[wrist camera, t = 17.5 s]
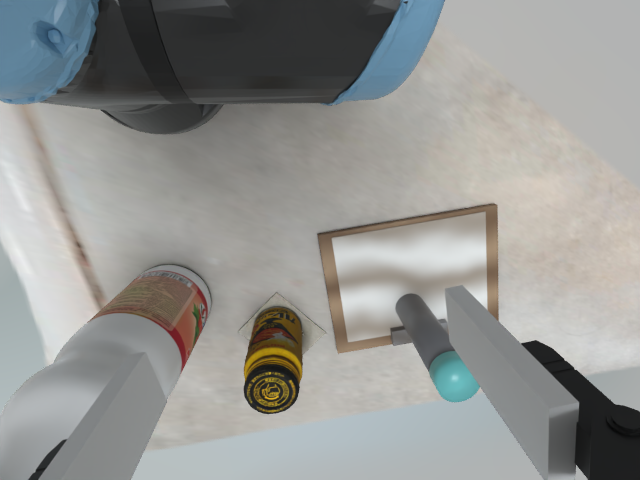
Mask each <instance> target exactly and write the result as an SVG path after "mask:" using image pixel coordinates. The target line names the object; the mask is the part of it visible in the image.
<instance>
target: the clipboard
mask: <svg viewBox="0 0 640 480" xmlns="http://www.w3.org/2000/svg"><path fill="white" fill-rule="evenodd" d="M318 239H319V245H320V251H321V257H322V263H323V269H324V275H325V280H326V286H327V292H328V298H329V304H330V310H331V316H332V321H333V327H334V333H335V339H336V345H337V351H338V353H344V352H350V351H355V350H361V349H367V348H372V347H378V346H384V345H390V344H393V346H395V345H401V344H407V343H412V340H411V338H410V337H409V335H408V333H407V331H406V329H405V327H404V326H403V324H402V322H401V320H400V318H399V316H398V315H397V313H396V309H395V307H396V303H397V301H398V300H399V298H401V297H402V296H403V295H406V294H410V293H412V294H417V295H419V296H420V297H421V298H422V299H423V301H424V302H425V303H426V305H427V306H428V307H429V309H430V310H431V311H432V313H433V314H434V315H435V317H436V318H437V319H438V321H439V322H440V323H441V325H442V326H443V327H444V329H445V330H446V331H447V333H448V334H449V330H448V320H447V309H446V299H445V288H450V287H455V286H460V285H463V286H464V287H465V288H466V289H467V290H468V291H469V292H470V293H471V294H472V295H473V296H474V297H475V298H476V299H477V300H478V301H479V302H480V303H481V304H482V305H483V306H484V307H485V308H486V309H487V310H488V311H489V312H490V313H491V314H492V315H493V316H494V317H495V318H496V319H497V320H498V217H497V205H496V204H489V205H483V206H477V207H471V208H465V209H460V210H454V211H448V212H442V213H436V214H430V215H425V216H419V217H413V218H407V219H401V220H396V221H390V222H384V223H378V224H372V225H366V226H361V227H355V228H349V229H343V230H337V231H331V232H326V233H320V234H318Z"/></svg>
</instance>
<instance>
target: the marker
mask: <svg viewBox="0 0 640 480" xmlns="http://www.w3.org/2000/svg"><path fill="white" fill-rule="evenodd" d="M395 309H396V313H397V315H398V316H399V318H400V320H401V322H402V324H403V326H404V327H405V329H406V331H407V333H408V335H409V337H410V338H411V340H412V342H413V344H414V346H415V348H416V349H417V351H418V353H419V355H420V357H421V359H422V360H423V362H424V364H425V366H426V368H427V369H428V371H429V374H430V377H431V379H432V381H433V383H434V385H435V386H436V388H437V390H438V392H439V394H440V395H441V397H443V398H444V399H445V400H447V401H450V402H461V401H465V400H467V399H469V398H471V397H472V396H473V395H474V394H475V393H476V392H477V391H478V389H479V387H480V386H479V384H478V383H477V381H476V380H475V379H474V377H473V376H472V374H471V373H470V371H469V370H468V368H467V367H466V365H465V364H464V362H463V361H462V360H461V358H460V357H459V355H458V354H457V352H456V351H455V349H454V348H453V346H452V345H451V343H450V341H449V334H448V333H447V331H446V330H445V329H444V327H443V326H442V325H441V323H440V322H439V321H438V319H437V318H436V317H435V315H434V314H433V313H432V311H431V310H430V309H429V307H428V306H427V305H426V303H425V302H424V301H423V299H422V298H421V297H420V296H419V295H417V294H412V293H410V294H406V295H403V296H402V297H401V298H399V300H398V301H397V303H396V307H395Z"/></svg>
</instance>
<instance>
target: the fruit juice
mask: <svg viewBox="0 0 640 480" xmlns="http://www.w3.org/2000/svg"><path fill="white" fill-rule="evenodd" d="M210 309H211V298H210V293H209V290H208V288H207V286H206V285H205V283H204V282H203V280H202V279H201V278H200V277H199V276H198V275H196V274H195V273H194V272H192V271H190V270H188V269H186V268H184V267H180V266H176V265H162V266H157V267H154V268H151V269H149V270H147V271H145V272H144V273H142V274H141V275H139V276H138V277H137V278H136V279H135V280H134V281H133V282H132V283H131V284H129V285H128V286H127V287H126V288H125V289H124V290H123V291H122V292H121V293H120V294H118V295H117V296H116V297H115V298H114V299H113V300H112V301H111V302H110V303H108V304H107V305H106V306H105V307H104V308H103V309H102V310H101V311H100V312H99V313H97V314H96V315H95V316H94V317H93V318H92V319H91V320H90V321H89V322H87V323H86V324H85V325H84V326H83V327H82V328H80V329H79V330H78V331H77V332H76V333H75V334H74V335H73V336H72V337H71V338H70V340H69V341H68V342H67V343H66V344H65V345H64V346H63V348H62V349H61V350H60V352H59V353H58V355H57V357H56V359H55V361H54V363H53V364H51V365H49V366H47V367H45V368H44V369H42V370H41V371H39V372H37V373H36V374H34V375H33V376H31V377H30V378H29V379H28V380H27V381H25V382H24V383H23V385H22V386H21V387H20V388H19V389H18V390H17V391H16V392H15V393H14V394H13V395H12V397H11V398H10V399H9V401H8V402H7V404H6V405H5V407H4V409H3V411H2V413H1V415H0V480H28V479H29V478H30V476H31V475H32V474H33V473H35V472H36V468H37V467H38V466H39V464H40V463H41V462H42V460H43V459H44V458H45V456H46V455H47V454H48V453H49V452H50V451H51V450H52V449H53V448H55V447H56V446H57V445H58V444H59V443H60V442H61V441H62V440H65V439H68V438H69V436H70V435H71V434H72V432H73V431H74V429H75V428H76V427H77V425H78V424H79V423H80V421H81V420H82V418H83V417H84V416H85V414H86V413H87V411H88V410H89V409H90V407H91V406H92V405H93V403H94V402H95V400H96V399H97V398H98V396H99V395H100V393H101V392H102V391H103V389H104V388H105V387H106V385H107V384H108V382H109V381H110V380H111V378H112V377H113V376H114V374H115V373H116V371H117V370H118V369H119V367H120V366H121V364H122V363H123V362H124V360H125V359H126V358H127V356H128V355H131V354H136V353H141V352H146V354H147V356H148V358H149V361H150V363H151V365H152V367H153V370H154V372H155V374H156V377H157V379H158V381H159V383H160V386H161V388H162V390H163V393H164V395H165V397H166V399H168V397H169V396H170V394H171V392H172V391H173V389H174V387H175V385H176V383H177V381H178V379H179V377H180V374H181V372H182V370H183V368H184V366H185V364H186V362H187V360H188V358H189V356H190V354H191V352H192V350H193V348H194V346H195V344H196V342H197V340H198V337H199V335H200V333H201V331H202V329H203V327H204V325H205V323H206V321H207V319H208V316H209V313H210Z"/></svg>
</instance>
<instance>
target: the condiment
mask: <svg viewBox="0 0 640 480" xmlns="http://www.w3.org/2000/svg"><path fill="white" fill-rule="evenodd" d="M302 331H303V332H302ZM238 333H240V334H241V335H242V336H244V337H245V338H247V339H248V340H249V341H250V342H249V347H248V353H247V356H246V359H245V366H244V376H245V385H244V396H245V398H246V400H247V401H248V403H249V405H250V406H251V407H252V408H254V409H255V410H257V411H258V412H261V413H264V414H273V413H279V412H282V411H285V410H287V409H288V408H290V407H291V406H292V405H293V404H294V403H295V401H296V399H297V397H298V393H299V388H300V387H299V383H300V380H301V378H302V365H303V363H302V355H303V354H304V353H305V352H306V351H308V350H309V348H310V347H312V346H313V345H314V344H315V343H316V342H317V341H318V340H319V339H320V338H321V337H322V336H323V335H324V334H325V333H326V332H325V331H323V330H322V329H321V328H320V327H318V326H317V325H316V324H314V323H313V322H312V321H311V320H310V319H308V318H307V317H306V316H305V315H304V314H302V313H301V312H300V311H299V310H298V309H296V308H295V307H294V306H293V305H292V304H290V303H289V302H288V301H287V300H285V299H284V298H283V297H282V296H280V295H279V294H278V293H275V294H274V296H272V298H271V299H269V300H268V302H267V303H265V304H264V305H263V306H262V308H261V309H259V311H258V312H257V313H256V314H255V315H254V316H253V317H252V318H251V319H250V320H249V321H248V322H247V323H246V324H245V325H244V326H243V327H242V328H241V329H240V330H239V331H238ZM303 333H304V335H303Z"/></svg>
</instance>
